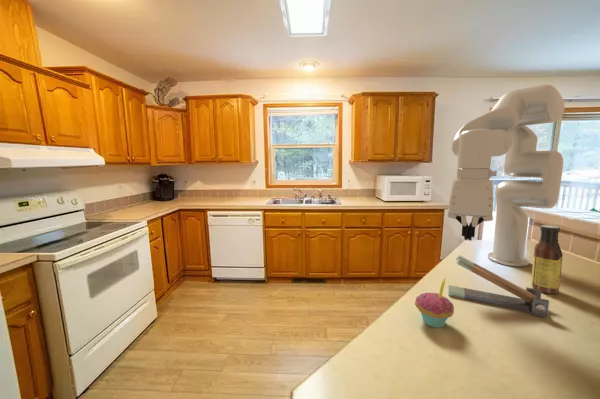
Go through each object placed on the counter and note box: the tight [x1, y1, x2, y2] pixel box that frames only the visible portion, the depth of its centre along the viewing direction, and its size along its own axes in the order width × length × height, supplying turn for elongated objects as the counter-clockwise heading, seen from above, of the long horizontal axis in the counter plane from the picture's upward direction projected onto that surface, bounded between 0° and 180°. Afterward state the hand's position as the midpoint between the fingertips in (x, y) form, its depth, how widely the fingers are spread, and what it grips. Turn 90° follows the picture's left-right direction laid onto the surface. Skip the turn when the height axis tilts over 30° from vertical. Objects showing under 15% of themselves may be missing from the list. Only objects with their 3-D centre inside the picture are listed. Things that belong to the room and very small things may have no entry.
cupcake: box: [414, 278, 455, 329], centre depth 63 cm, size 9×8×12 cm
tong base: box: [447, 284, 550, 319], centre depth 72 cm, size 8×22×4 cm, turn 60°
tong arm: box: [455, 254, 537, 304], centre depth 71 cm, size 4×20×2 cm, turn 60°
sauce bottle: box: [530, 224, 564, 295], centre depth 76 cm, size 6×6×20 cm
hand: (467, 238), depth 73 cm, fingers closed
